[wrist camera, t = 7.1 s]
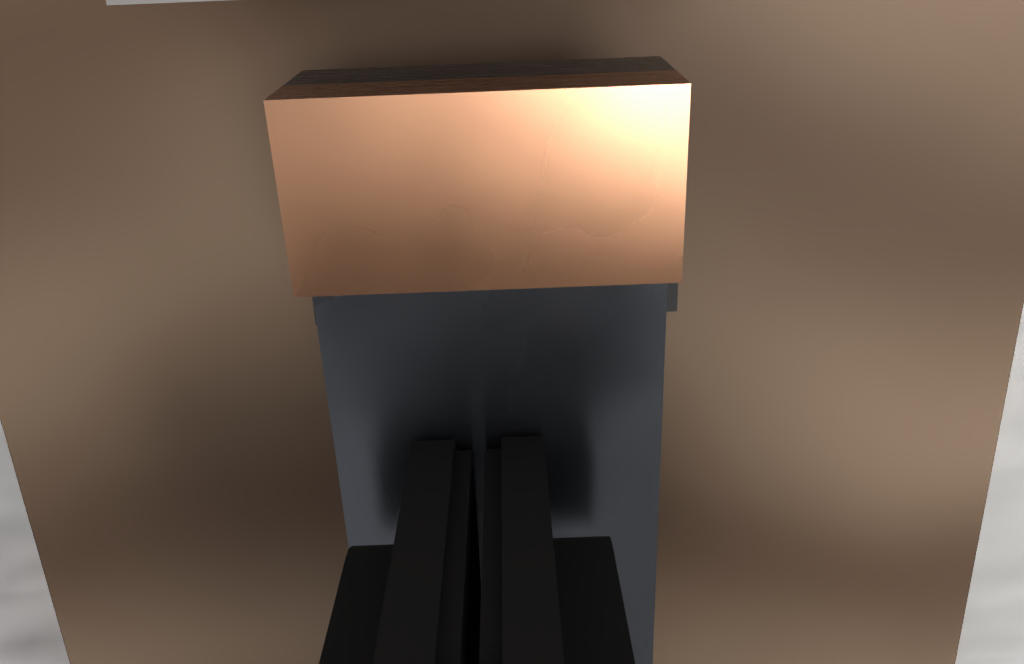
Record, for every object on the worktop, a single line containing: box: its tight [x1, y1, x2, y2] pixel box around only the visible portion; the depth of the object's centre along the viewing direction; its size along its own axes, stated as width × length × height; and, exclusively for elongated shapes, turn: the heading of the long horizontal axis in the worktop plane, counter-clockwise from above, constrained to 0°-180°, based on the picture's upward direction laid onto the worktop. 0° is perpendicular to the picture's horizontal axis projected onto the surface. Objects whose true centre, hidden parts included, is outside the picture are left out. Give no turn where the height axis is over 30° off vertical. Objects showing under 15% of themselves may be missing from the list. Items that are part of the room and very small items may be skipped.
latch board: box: [0, 0, 1024, 664], centre depth 13 cm, size 28×16×6 cm, turn 2°
